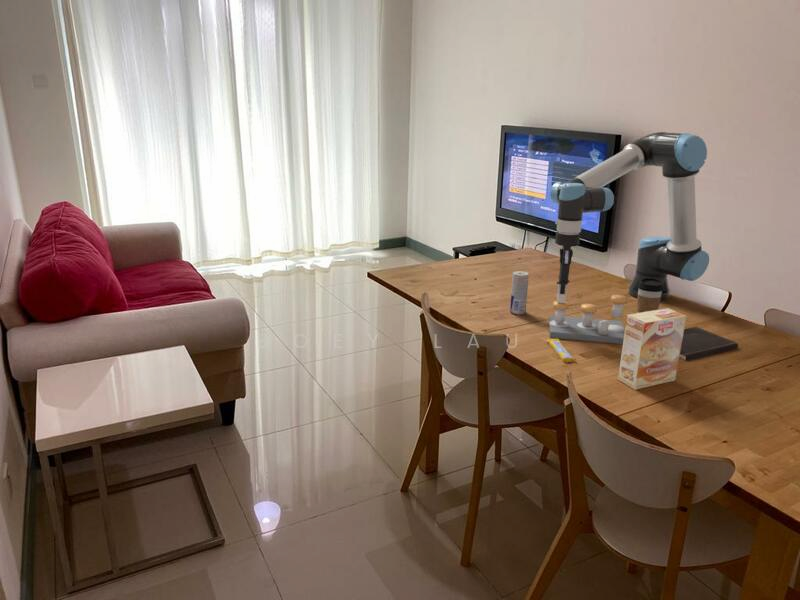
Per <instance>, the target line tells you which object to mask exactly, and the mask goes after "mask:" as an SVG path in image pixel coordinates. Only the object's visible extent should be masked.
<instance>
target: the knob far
mask: <svg viewBox="0 0 800 600" xmlns="http://www.w3.org/2000/svg"><path fill="white" fill-rule="evenodd" d="M552 307H553V308H554V310H555V311H554V312H555V313H554V316H555V322H557V323H564V320H565V317H566V310H569V307H570V302H568V301H567V300H566V301H565V303H557V300H554V301H553V303H552Z"/></svg>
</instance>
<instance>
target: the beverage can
mask: <svg viewBox="0 0 800 600" xmlns="http://www.w3.org/2000/svg"><path fill="white" fill-rule="evenodd" d="M528 288H529V272H527V271H523V270H519V271H513V272H512V281H511V291H510V292H511V293H510V294H511V295H510V306H509V308H510V309H509V311H510V312H511V314H513V315H523V314H525V313H526V312H527V303H528V302H527V300H528V290H529V289H528Z"/></svg>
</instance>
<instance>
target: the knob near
mask: <svg viewBox="0 0 800 600" xmlns="http://www.w3.org/2000/svg"><path fill="white" fill-rule="evenodd" d="M610 302H611V303H612V310H611V317H612V318H617V319H621V318H622V317H623V312H624V311H623V310H624V305H626V304H627V303H628V297H627V296H625V295H622V294H612V295H611V296H610Z"/></svg>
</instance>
